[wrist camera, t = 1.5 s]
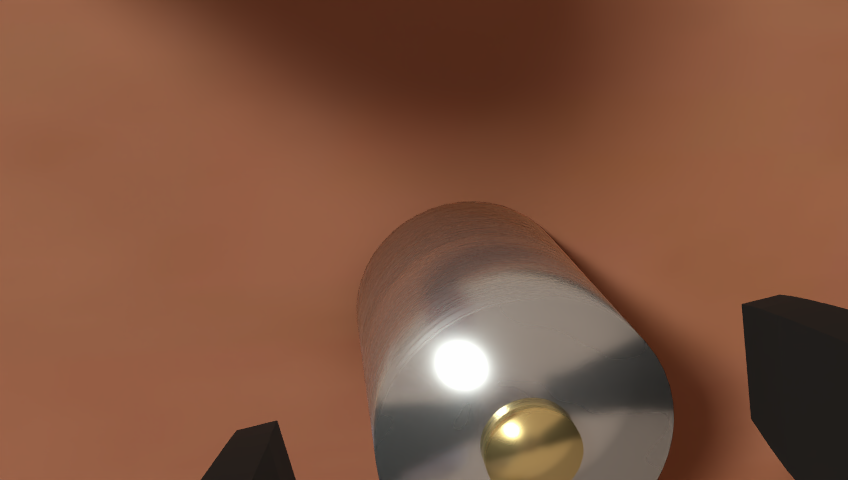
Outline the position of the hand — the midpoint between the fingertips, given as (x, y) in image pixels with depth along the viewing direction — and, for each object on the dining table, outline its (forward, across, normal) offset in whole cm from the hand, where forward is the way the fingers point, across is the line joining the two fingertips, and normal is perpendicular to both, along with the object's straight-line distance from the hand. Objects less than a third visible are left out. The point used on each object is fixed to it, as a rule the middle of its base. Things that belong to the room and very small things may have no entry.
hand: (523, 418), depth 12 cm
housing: (+4, 0, 0) cm, 5 cm away
